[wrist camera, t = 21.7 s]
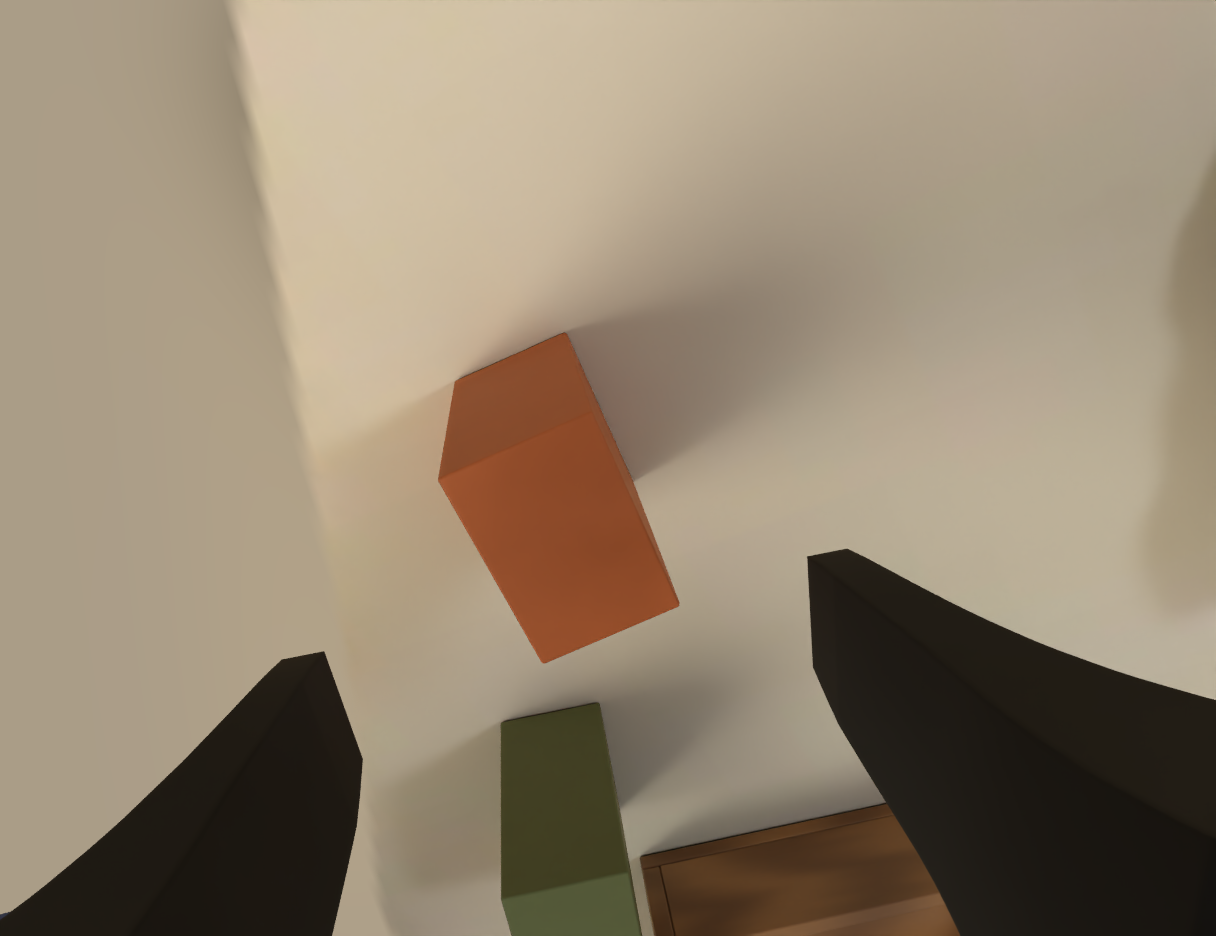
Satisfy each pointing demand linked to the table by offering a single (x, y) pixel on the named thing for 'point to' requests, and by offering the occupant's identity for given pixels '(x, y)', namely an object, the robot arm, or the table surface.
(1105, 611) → the table surface
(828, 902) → the wooden tray
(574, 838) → the block
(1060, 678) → the robot arm
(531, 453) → the orange rectangular block
